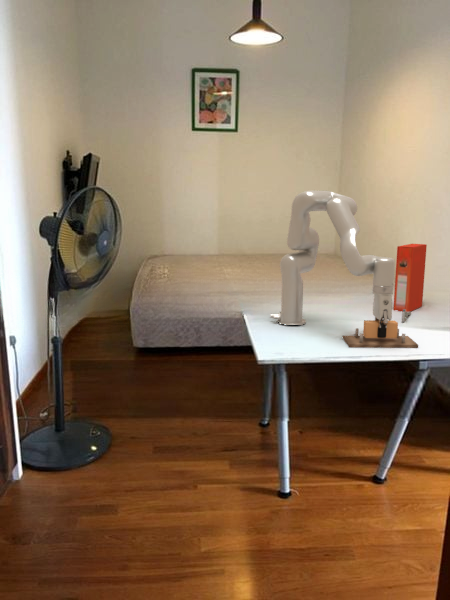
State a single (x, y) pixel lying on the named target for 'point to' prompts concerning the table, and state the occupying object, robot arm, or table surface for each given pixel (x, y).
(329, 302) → the table surface
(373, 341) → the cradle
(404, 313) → the caliper
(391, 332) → the jaw block
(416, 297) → the file binder
